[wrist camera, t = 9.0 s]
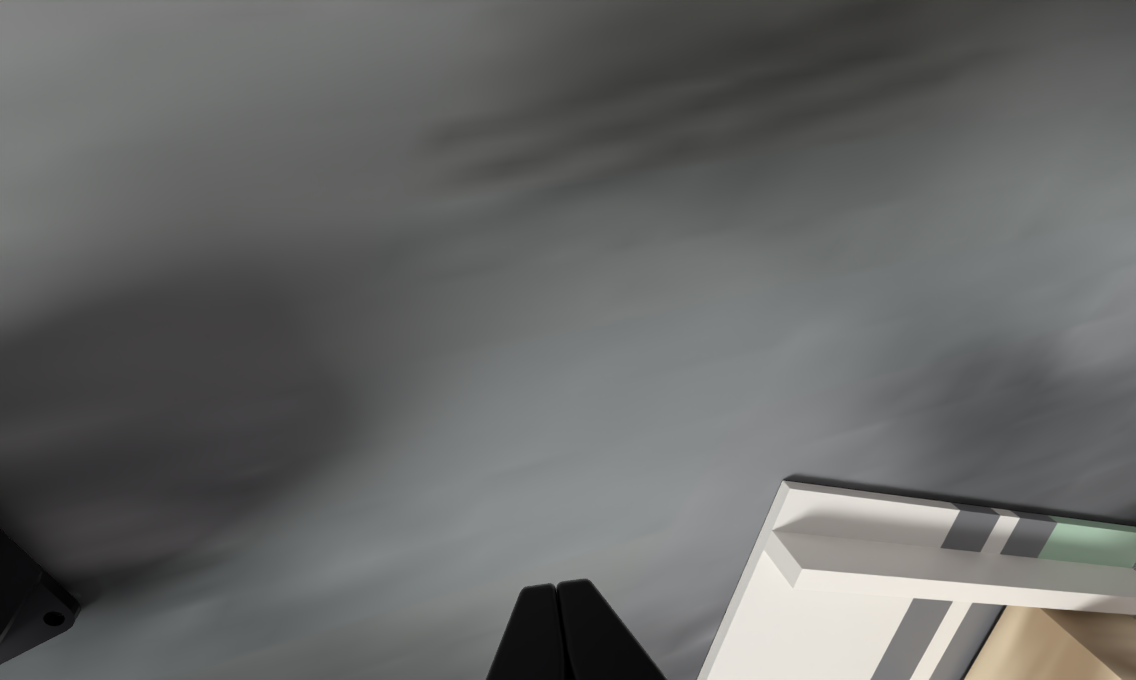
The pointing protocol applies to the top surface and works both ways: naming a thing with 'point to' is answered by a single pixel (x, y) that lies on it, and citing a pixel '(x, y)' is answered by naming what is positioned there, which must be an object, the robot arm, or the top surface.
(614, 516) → the top surface
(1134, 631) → the maple block
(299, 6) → the top surface
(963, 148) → the top surface
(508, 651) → the robot arm
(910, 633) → the track
